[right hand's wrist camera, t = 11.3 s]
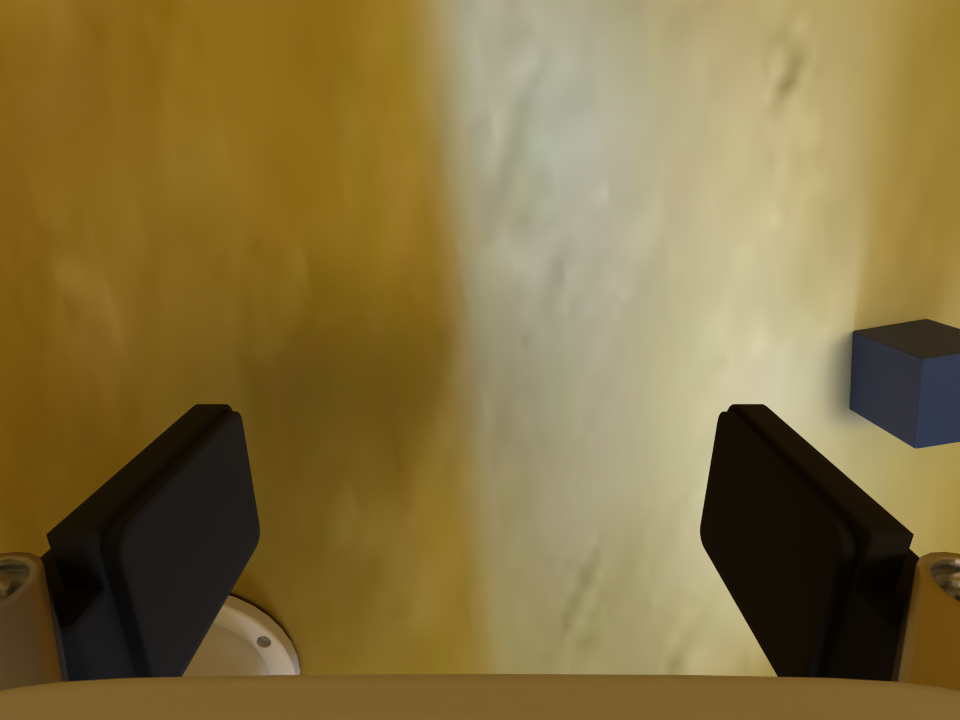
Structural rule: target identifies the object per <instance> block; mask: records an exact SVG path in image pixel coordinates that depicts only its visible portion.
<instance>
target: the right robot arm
mask: <svg viewBox="0 0 960 720" xmlns="http://www.w3.org/2000/svg"><path fill="white" fill-rule="evenodd" d="M46 535H47V538H48V541H49V544H50V547H51V549H50V550H49V551H47V552H46V553H45V554H44V555H43V556H42V557H41V558H40V557H38V556H36V555H33V554H31V553H24V552H11V553H3V554H0V720H960V554H957V553H949V552H936V553H929V554H927V555H924V556H922V557H920V558H919V557H918V556H917V555H916V554H915V553H914V552H913V551H911V550H910V549H909V547H910V544H911V541H912V538H913V535H914V534H912V533H911V532H910V531H909V530H908V529H907V528H906V527H904V526H903V525H902V524H901V523H900V522H899V521H898V520H896V519H895V518H894V517H893V516H892V515H891V514H889V513H888V512H887V511H886V510H885V509H884V508H883V507H881V506H880V505H879V504H878V503H877V502H876V501H875V500H873V499H872V498H871V497H870V496H869V495H868V494H867V493H865V492H864V491H863V490H862V489H861V488H860V487H858V486H857V485H856V484H855V483H854V482H853V481H852V480H850V479H849V478H848V477H847V476H846V475H845V474H844V473H842V472H841V471H840V470H839V469H838V468H837V467H836V466H834V465H833V464H832V463H831V462H830V461H829V460H828V459H826V458H825V457H824V456H823V455H822V454H821V453H819V452H818V451H817V450H816V449H815V448H814V447H813V446H811V445H810V444H809V443H808V442H807V441H806V440H805V439H803V438H802V437H801V436H800V435H799V434H798V433H797V432H795V431H794V430H793V429H792V428H791V427H790V426H789V425H787V424H786V423H785V422H784V421H783V420H782V419H780V418H779V417H778V416H777V415H776V414H775V413H774V412H772V411H771V410H770V409H769V408H768V407H767V406H765V405H763V404H733V405H731V406H730V407H729V409H728V411H727V412H722V413H720V415H719V418H718V422H717V428H716V434H715V441H714V447H713V453H712V459H711V465H710V471H709V477H708V483H707V489H706V495H705V501H704V507H703V514H702V520H701V526H700V536H701V541H702V544H703V546H704V548H705V550H706V552H707V554H708V555H709V557H710V559H711V561H712V562H713V564H714V566H715V568H716V569H717V571H718V573H719V575H720V576H721V578H722V580H723V582H724V583H725V585H726V587H727V589H728V590H729V592H730V594H731V596H732V597H733V599H734V601H735V603H736V604H737V606H738V608H739V610H740V611H741V613H742V615H743V617H744V618H745V620H746V622H747V624H748V625H749V627H750V629H751V631H752V632H753V634H754V636H755V638H756V639H757V641H758V643H759V645H760V646H761V648H762V650H763V651H764V653H765V655H766V657H767V658H768V660H769V662H770V664H771V665H772V667H773V669H774V671H775V672H776V674H777V676H778V677H755V676H705V675H573V674H387V675H300V667H299V661H298V656H297V654H296V651H295V649H294V647H293V645H292V642H291V641H290V639H289V638H288V637H287V635H286V634H285V632H284V631H283V630H282V628H281V627H280V626H279V625H278V624H277V623H276V622H274V621H273V620H272V619H271V618H270V617H269V616H268V615H266V614H265V613H264V612H262V611H261V610H259V609H258V608H256V607H255V606H253V605H251V604H249V603H247V602H245V601H242V600H240V599H238V598H236V597H233V596H230V595H229V594H230V592H231V590H232V589H233V587H234V585H235V583H236V582H237V580H238V578H239V576H240V575H241V573H242V571H243V569H244V568H245V566H246V564H247V562H248V561H249V559H250V557H251V555H252V554H253V552H254V550H255V549H256V546H257V544H258V541H259V536H260V526H259V520H258V514H257V507H256V501H255V495H254V489H253V483H252V477H251V471H250V465H249V459H248V453H247V447H246V441H245V434H244V428H243V422H242V418H241V415H240V413H238V412H233V411H232V409H231V407H230V406H229V405H227V404H197V405H195V406H193V407H192V408H191V409H190V410H189V411H188V412H186V413H185V414H184V415H183V416H182V417H181V418H180V419H178V420H177V421H176V422H175V423H174V424H173V425H172V426H170V427H169V428H168V429H167V430H166V431H165V432H163V433H162V434H161V435H160V436H159V437H158V438H157V439H155V440H154V441H153V442H152V443H151V444H150V445H149V446H147V447H146V448H145V449H144V450H143V451H142V452H141V453H139V454H138V455H137V456H136V457H135V458H134V459H132V460H131V461H130V462H129V463H128V464H127V465H126V466H124V467H123V468H122V469H121V470H120V471H119V472H118V473H116V474H115V475H114V476H113V477H112V478H111V479H110V480H108V481H107V482H106V483H105V484H104V485H103V486H102V487H100V488H99V489H98V490H97V491H96V492H95V493H93V494H92V495H91V496H90V497H89V498H88V499H87V500H85V501H84V502H83V503H82V504H81V505H80V506H79V507H77V508H76V509H75V510H74V511H73V512H72V513H71V514H69V515H68V516H67V517H66V518H65V519H64V520H62V521H61V522H60V523H59V524H58V525H57V526H56V527H54V528H53V529H52V530H51V531H50V532H49V533H48V534H46Z"/></svg>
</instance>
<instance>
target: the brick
mask: <svg viewBox="0 0 960 720" xmlns="http://www.w3.org/2000/svg"><path fill="white" fill-rule="evenodd" d="M850 409H851V410H852V411H854V412H855V413H857V414H859V415H860V416H862V417H864V418H865V419H867V420H869V421H870V422H872V423H874V424H875V425H877V426H879V427H880V428H882V429H884V430H885V431H887V432H889V433H890V434H892V435H894V436H895V437H897V438H898V439H900V440H902V441H903V442H905V443H907V444H908V445H910V446H912V447H913V448H916V449H917V448H923V447H929V446H936V445H942V444H948V443H955V442H960V329H958V328H955V327H951V326H948V325H945V324H942V323H938V322H935V321H932V320H929V319H926V320H920V321H914V322H908V323H902V324H896V325H890V326H884V327H877V328H871V329H865V330H859V331H854V333H853V354H852V375H851V396H850Z"/></svg>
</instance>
